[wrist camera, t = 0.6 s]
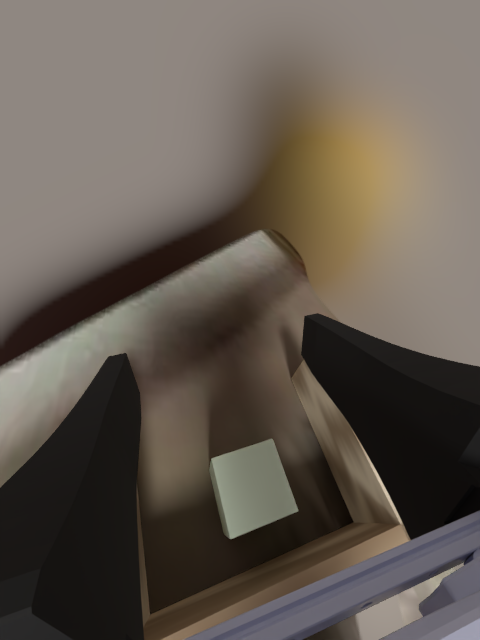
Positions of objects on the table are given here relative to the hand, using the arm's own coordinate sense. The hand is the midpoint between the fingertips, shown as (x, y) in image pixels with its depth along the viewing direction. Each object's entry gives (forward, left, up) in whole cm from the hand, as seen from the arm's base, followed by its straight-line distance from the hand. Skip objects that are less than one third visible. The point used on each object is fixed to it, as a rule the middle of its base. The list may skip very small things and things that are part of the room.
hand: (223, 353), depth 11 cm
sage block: (-4, -2, -17) cm, 17 cm away
